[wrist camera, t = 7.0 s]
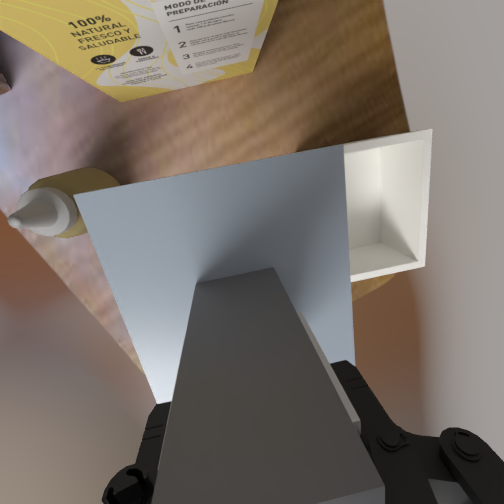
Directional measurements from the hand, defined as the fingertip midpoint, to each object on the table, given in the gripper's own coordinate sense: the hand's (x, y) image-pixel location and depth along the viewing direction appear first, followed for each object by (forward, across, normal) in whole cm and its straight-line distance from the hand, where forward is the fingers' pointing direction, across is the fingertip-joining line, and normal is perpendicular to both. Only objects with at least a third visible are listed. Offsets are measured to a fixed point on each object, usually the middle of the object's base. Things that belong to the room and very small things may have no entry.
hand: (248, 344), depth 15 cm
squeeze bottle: (+30, -17, +8) cm, 35 cm away
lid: (+4, 0, 0) cm, 4 cm away
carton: (+29, +19, 0) cm, 35 cm away
